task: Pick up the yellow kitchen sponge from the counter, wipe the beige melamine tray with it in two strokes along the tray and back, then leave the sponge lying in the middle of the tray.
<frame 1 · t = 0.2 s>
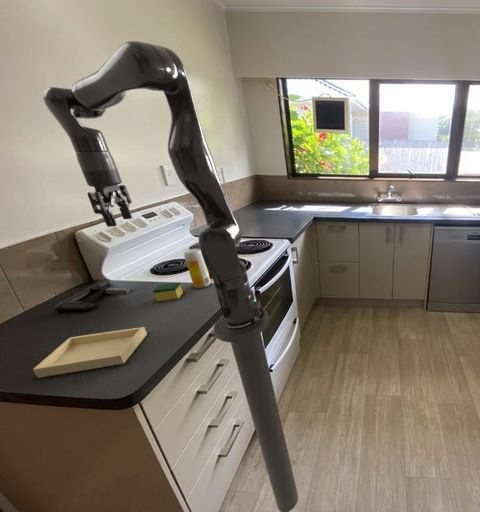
hand: (120, 222, 89), 31 cm above the countertop, tool pointing down, fingers open, 8 cm apart
tray: (97, 354, 80), on the countertop
sponge: (170, 296, 108), on the countertop
door handle: (100, 298, 108), on the countertop
white and yellow cylinder: (202, 285, 116), on the countertop
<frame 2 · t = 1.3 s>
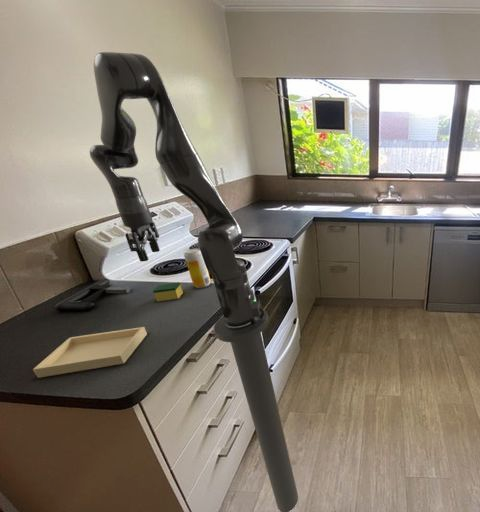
hand: (150, 256, 99), 17 cm above the countertop, tool pointing down, fingers open, 8 cm apart
nothing on the countertop moved.
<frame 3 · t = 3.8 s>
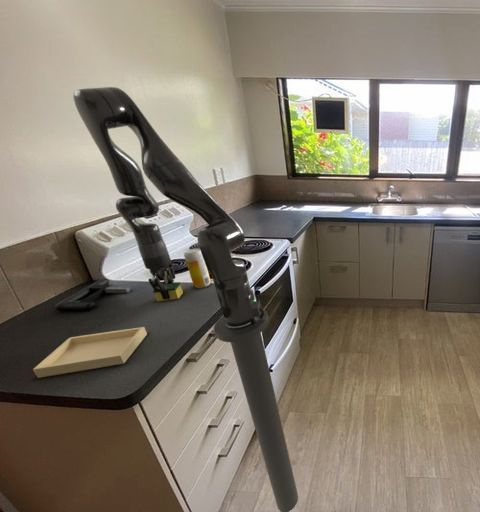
hand: (169, 295, 107), 1 cm above the countertop, tool pointing down, fingers closed on sponge, 4 cm apart
sponge: (170, 296, 108), on the countertop, touching gripper
everything else where it was.
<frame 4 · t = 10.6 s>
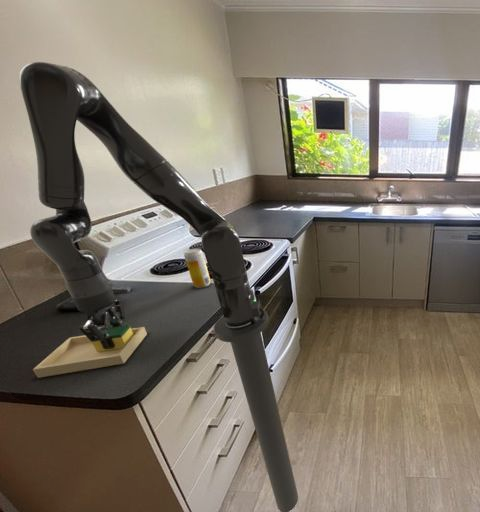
hand: (115, 341, 82), 2 cm above the countertop, tool pointing down, fingers closed on sponge, 4 cm apart
sponge: (116, 344, 82), point 1 cm above the countertop, touching gripper
everything else where it was.
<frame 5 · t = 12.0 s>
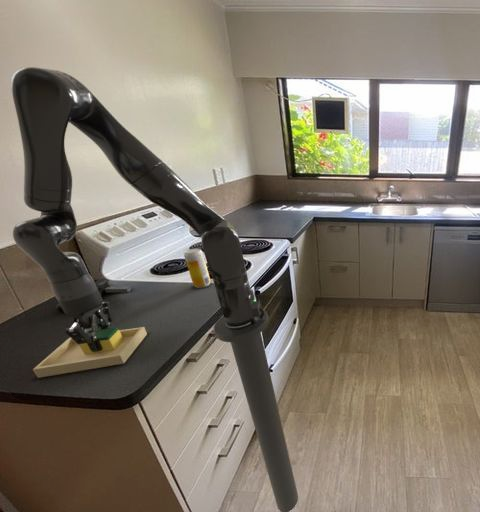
hand: (103, 344, 81), 2 cm above the countertop, tool pointing down, fingers closed on sponge, 4 cm apart
sponge: (104, 346, 81), point 1 cm above the countertop, touching gripper
everything else where it was.
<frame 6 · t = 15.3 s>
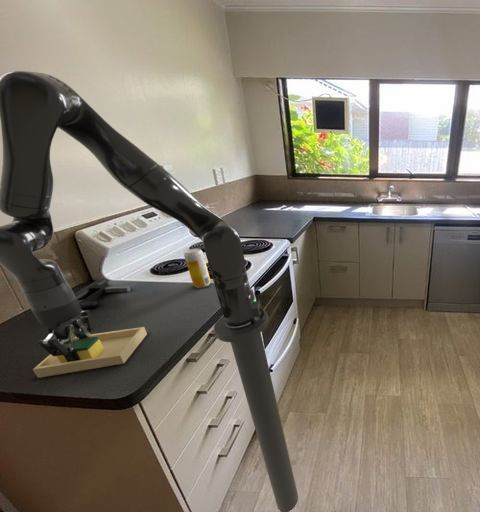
hand: (82, 355, 77), 2 cm above the countertop, tool pointing down, fingers closed on sponge, 4 cm apart
sponge: (84, 357, 78), point 1 cm above the countertop, touching gripper
everything else where it was.
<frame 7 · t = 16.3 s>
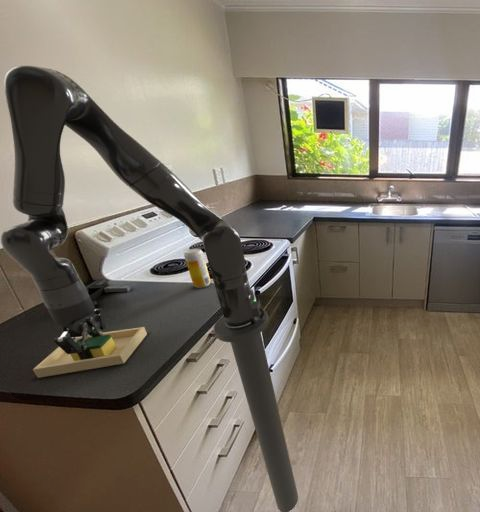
hand: (94, 353, 78), 2 cm above the countertop, tool pointing down, fingers closed on sponge, 4 cm apart
sponge: (96, 355, 78), point 1 cm above the countertop, touching gripper
everything else where it was.
when the fingers open (2 cm above the countertop, at t = 19.3 s): sponge stays where it is, resting on tray.
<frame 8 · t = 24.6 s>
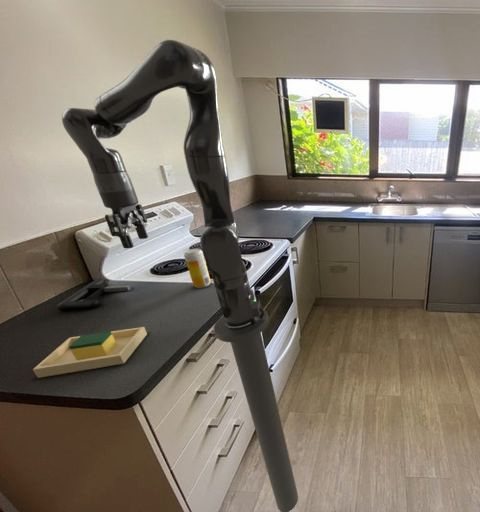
hand: (136, 242, 86), 26 cm above the countertop, tool pointing down, fingers open, 8 cm apart
sponge: (97, 351, 79), point 1 cm above the countertop, touching tray
at the end: sponge inside the target area in the tray (0.2 cm from its centre), point 0.8 cm above the tray's base; sponge moved 30.4 cm from its start; the gripper is holding nothing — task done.
